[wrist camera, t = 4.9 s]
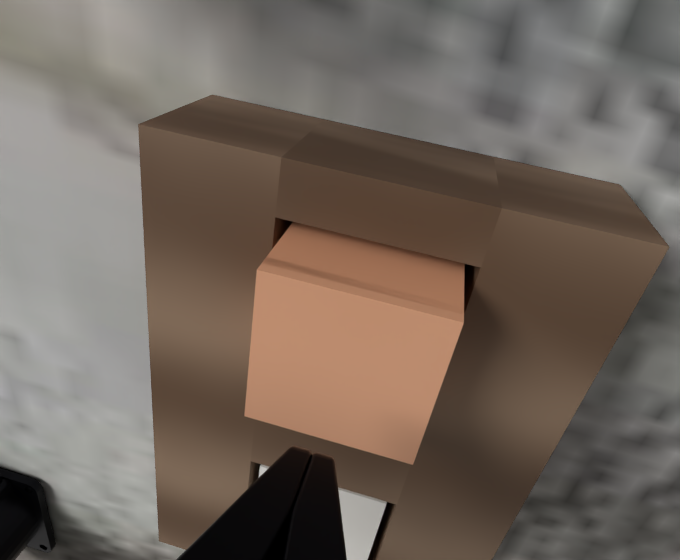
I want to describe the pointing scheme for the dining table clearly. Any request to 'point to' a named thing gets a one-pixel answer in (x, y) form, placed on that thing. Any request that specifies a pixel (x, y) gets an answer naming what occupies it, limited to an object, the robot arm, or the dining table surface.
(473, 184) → the panel
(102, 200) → the dining table surface
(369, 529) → the button
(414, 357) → the button
